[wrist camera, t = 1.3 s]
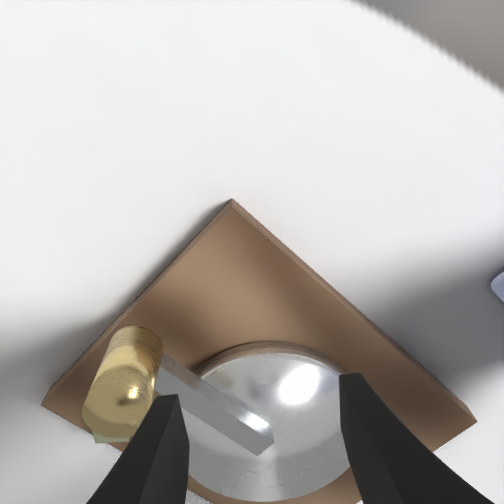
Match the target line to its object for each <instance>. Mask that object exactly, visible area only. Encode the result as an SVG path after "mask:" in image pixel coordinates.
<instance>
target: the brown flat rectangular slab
mask: <svg viewBox="0 0 504 504" xmlns="http://www.w3.org/2000/svg"><path fill="white" fill-rule="evenodd" d="M128 326H142V327H145V328H148V329H150V330H152V331H153V332H155V333H156V334H157V335H158V336H159V337H160V339H161V341H162V343H163V347H164V350H163V352H164V353H165V354H167V355H168V356H170V357H171V358H173V359H174V360H175V361H177V362H178V363H180V364H181V365H183V366H184V367H186V368H187V369H189V370H190V371H191V372H193V373H194V372H195V371H196V370H197V369H198V368H199V367H200V366H201V365H203V364H204V363H205V362H206V361H208V360H209V359H211V358H213V357H214V356H216V355H218V354H220V353H222V352H224V351H226V350H229V349H231V348H235V347H238V346H241V345H245V344H250V343H256V342H266V341H278V342H288V343H295V344H299V345H303V346H307V347H309V348H312V349H315V350H317V351H319V352H321V353H323V354H325V355H327V356H328V357H330V358H331V359H333V360H334V361H336V362H337V363H338V364H339V365H340V366H341V367H342V368H343V369H344V370H345V371H346V373H347V374H352V373H361V374H362V375H363V376H364V377H365V379H366V380H367V381H368V383H369V384H370V385H371V386H372V388H373V389H374V390H375V391H376V393H377V394H378V395H379V396H380V398H381V399H382V400H383V401H384V402H385V403H386V405H387V406H388V407H389V408H390V409H391V410H392V411H393V413H394V414H395V415H396V416H397V417H398V418H399V419H400V420H401V421H402V422H403V423H404V424H405V426H406V427H407V428H408V429H409V430H410V431H411V432H412V433H413V434H414V435H415V436H416V437H417V438H418V439H419V440H420V441H421V442H422V443H423V444H424V445H425V446H426V447H427V448H428V449H429V450H430V451H431V452H433V451H435V450H436V449H438V448H439V447H441V446H442V445H444V444H445V443H447V442H448V441H450V440H451V439H453V438H454V437H456V436H457V435H459V434H460V433H462V432H463V431H465V430H466V429H468V428H469V427H471V426H472V425H474V424H475V423H476V422H477V420H476V419H475V417H474V416H473V414H472V413H471V411H470V410H469V408H468V407H467V406H466V405H465V404H464V403H463V402H462V401H461V400H459V399H458V398H457V397H456V396H455V395H454V394H453V393H452V392H450V391H449V390H448V389H447V388H446V387H445V386H444V385H443V384H441V383H440V382H439V381H438V380H437V379H436V378H435V377H434V376H432V375H431V374H430V373H429V372H428V371H427V370H426V369H424V368H423V367H422V366H421V365H420V364H419V363H418V362H417V361H415V360H414V359H413V358H412V357H411V356H410V355H409V354H408V353H406V352H405V351H404V350H403V349H402V348H401V347H400V346H398V345H397V344H396V343H395V342H394V341H393V340H392V339H391V338H389V337H388V336H387V335H386V334H385V333H384V332H383V331H382V330H380V329H379V328H378V327H377V326H376V325H375V324H374V323H372V322H371V321H370V320H369V319H368V318H367V317H366V316H365V315H363V314H362V313H361V312H360V311H359V310H358V309H357V308H356V307H354V306H353V305H352V304H351V303H350V302H349V301H348V300H347V299H345V298H344V297H343V296H342V295H341V294H340V293H339V292H337V291H336V290H335V289H334V288H333V287H332V286H331V285H330V284H328V283H327V282H326V281H325V280H324V279H323V278H322V277H321V276H319V275H318V274H317V273H316V272H315V271H314V270H313V269H311V268H310V267H309V266H308V265H307V264H306V263H305V262H304V261H302V260H301V259H300V258H299V257H298V256H297V255H296V254H295V253H293V252H292V251H291V250H290V249H289V248H288V247H287V246H285V245H284V244H283V243H282V242H281V241H280V240H279V239H278V238H276V237H275V236H274V235H273V234H272V233H271V232H270V231H269V230H267V229H266V228H265V227H264V226H263V225H262V224H261V223H260V222H258V221H257V220H256V219H255V218H254V217H253V216H252V215H250V214H249V213H248V212H247V211H246V210H245V209H244V208H243V207H241V206H240V205H239V204H238V203H237V202H236V201H235V200H234V199H231V200H230V201H229V202H228V203H227V205H226V206H225V207H224V208H223V209H222V210H221V211H220V212H219V213H218V214H217V215H216V216H215V217H214V218H213V219H212V220H211V221H210V222H209V223H208V224H207V225H206V226H205V227H204V228H203V229H202V231H201V232H200V233H199V234H198V235H197V236H196V237H195V238H194V239H193V240H192V241H191V242H190V243H189V244H188V245H187V246H186V247H185V248H184V249H183V250H182V251H181V252H180V253H179V254H178V256H177V257H176V258H175V259H174V260H173V261H172V262H171V263H170V264H169V265H168V266H167V267H166V268H165V269H164V270H163V271H162V272H161V273H160V274H159V275H158V276H157V277H156V278H155V279H154V281H153V282H152V283H151V284H150V285H149V286H148V287H147V288H146V289H145V290H144V291H143V292H142V293H141V294H140V295H139V296H138V297H137V298H136V299H135V300H134V301H133V302H132V303H131V304H130V306H129V307H128V308H127V309H126V310H125V311H124V312H123V313H122V314H121V315H120V316H119V317H118V318H117V319H116V320H115V321H114V322H113V323H112V324H111V325H110V326H109V327H108V328H107V329H106V331H105V332H104V333H103V334H102V335H101V336H100V337H99V338H98V339H97V340H96V341H95V342H94V343H93V344H92V345H91V346H90V347H89V348H88V349H87V350H86V351H85V352H84V353H83V354H82V355H81V357H80V358H79V359H78V360H77V361H76V362H75V363H74V364H73V365H72V366H71V367H70V368H69V369H68V370H67V371H66V372H65V373H64V374H63V375H62V376H61V377H60V378H59V379H58V380H57V382H56V383H55V384H54V385H53V386H52V387H51V388H50V389H49V391H48V392H47V394H46V396H45V398H44V400H43V402H42V403H41V406H43V407H45V408H47V409H48V410H50V411H52V412H54V413H55V414H57V415H59V416H61V417H62V418H64V419H66V420H68V421H69V422H71V423H73V424H75V425H76V426H78V427H80V428H82V429H83V430H85V431H87V432H89V433H90V434H92V435H93V436H94V440H95V443H108V444H110V445H111V446H113V447H115V448H117V449H118V450H120V451H122V452H123V451H124V450H125V448H126V446H127V445H128V443H129V442H130V440H131V439H132V437H133V436H130V437H127V438H109V437H105V436H102V435H99V434H98V433H96V432H94V431H93V430H91V429H90V428H89V427H88V426H87V425H86V423H85V421H84V420H83V417H82V407H83V405H84V402H85V400H86V397H87V395H88V393H89V390H90V388H91V386H92V383H93V381H94V379H95V376H96V374H97V372H98V369H99V367H100V364H101V362H102V360H103V357H104V355H105V353H106V350H107V348H108V346H109V343H110V341H111V339H112V337H113V335H114V334H115V333H116V332H117V331H118V330H120V329H122V328H124V327H128ZM157 396H163V395H161V394H160V393H158V392H157V391H155V390H154V395H153V399H152V403H153V401H154V399H155V398H156V397H157ZM152 403H151V404H152ZM187 489H189V490H190V491H192V492H194V493H196V494H197V495H199V496H201V497H203V498H204V499H206V500H208V501H210V502H211V503H213V504H356V503H357V502H359V501H360V500H362V498H361V495H360V492H359V489H358V486H357V484H356V481H355V478H354V475H353V472H352V469H351V466H350V467H349V468H348V469H347V470H346V471H345V472H344V473H343V474H342V475H340V476H339V477H338V478H336V479H335V480H334V481H332V482H331V483H329V484H328V485H326V486H324V487H322V488H320V489H318V490H316V491H314V492H311V493H309V494H306V495H303V496H300V497H296V498H292V499H287V500H281V501H271V502H256V501H246V500H240V499H235V498H231V497H227V496H224V495H222V494H219V493H216V492H214V491H212V490H210V489H208V488H206V487H205V486H203V485H202V484H200V483H199V482H197V481H196V480H195V479H194V478H193V477H191V476H190V475H189V474H188V484H187Z"/></svg>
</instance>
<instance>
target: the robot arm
mask: <svg viewBox="0 0 504 504" xmlns="http://www.w3.org/2000/svg"><path fill="white" fill-rule="evenodd" d="M491 289H492V290H493V292H494V293H495V294H496V295H497V296H498V297H499V298H500V299H501V300H502V301H503V302H504V271H503V272H502V273H501V274H499V275H498V276H497V277H495V278H494V279H493V280H492V282H491ZM339 400H340V427H341V431H342V435H343V440H344V444H345V448H346V452H347V456H348V460H349V464H350V466H351V469H352V472H353V475H354V478H355V481H356V484H357V486H358V489H359V492H360V495H361V498H362V501H363V503H364V504H494V503H493V502H491V501H490V500H489V499H487V498H486V497H485V496H483V495H482V494H481V493H479V492H478V491H477V490H476V489H474V488H473V487H472V486H471V485H469V484H468V483H467V482H466V481H464V480H463V479H462V478H461V477H460V476H458V475H457V474H456V473H455V472H454V471H453V470H451V469H450V468H449V467H448V466H447V465H446V464H445V463H443V462H442V461H441V460H440V459H439V458H438V457H437V456H436V455H435V454H434V453H432V452H431V451H430V450H429V449H428V448H427V447H426V446H425V445H424V444H423V443H422V442H421V441H420V440H419V439H418V438H417V437H416V436H415V435H414V434H413V433H412V432H411V431H410V430H409V429H408V428H407V427H406V426H405V424H404V423H403V422H402V421H401V420H400V419H399V418H398V417H397V416H396V415H395V414H394V413H393V411H392V410H391V409H390V408H389V407H388V406H387V405H386V403H385V402H384V401H383V400H382V399H381V398H380V396H379V395H378V394H377V393H376V391H375V390H374V389H373V388H372V386H371V385H370V384H369V383H368V381H367V380H366V379H365V377H364V376H363V375H362V374H361V373H352V374H343V375H339ZM189 450H190V443H189V439H188V435H187V430H186V426H185V422H184V418H183V414H182V410H181V406H180V401H179V397H178V394H171V395H163V396H157V397H156V398H155V399H154V401H153V403H152V404H151V406H150V408H149V410H148V411H147V413H146V415H145V417H144V419H143V420H142V422H141V424H140V425H139V427H138V429H137V430H136V432H135V434H134V435H133V437H132V439H131V440H130V442H129V443H128V445H127V446H126V448H125V450H124V451H123V453H122V454H121V456H120V457H119V459H118V460H117V462H116V463H115V465H114V466H113V468H112V469H111V471H110V472H109V473H108V475H107V476H106V478H105V479H104V480H103V482H102V483H101V485H100V486H99V488H98V489H97V490H96V492H95V493H94V494H93V496H92V497H91V498H90V499H89V501H88V502H87V503H86V504H185V498H186V491H187V484H188V474H189Z"/></svg>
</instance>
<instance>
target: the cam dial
mask: <svg viewBox="0 0 504 504" xmlns="http://www.w3.org/2000/svg"><path fill="white" fill-rule="evenodd" d="M163 350H164V347H163V343H162V341H161V339H160V337H159V336H158V335H157V334H156V333H155V332H153V331H152V330H150V329H148V328H145V327H142V326H128V327H124V328H122V329H120V330H118V331H117V332H116V333H115V334H114V335H113V337H112V339H111V341H110V343H109V346H108V348H107V350H106V353H105V355H104V357H103V360H102V362H101V364H100V367H99V369H98V372H97V374H96V376H95V379H94V381H93V383H92V386H91V388H90V390H89V393H88V395H87V397H86V400H85V402H84V405H83V407H82V417H83V420H84V421H85V423H86V425H87V426H88V427H89V428H90V429H91V430H93V431H94V432H96V433H98V434H99V435H102V436H105V437H109V438H127V437H130V436H133V435H134V434H135V432H136V430H137V429H138V427H139V425H140V424H141V422H142V420H143V419H144V417H145V415H146V413H147V411H148V410H149V408H150V406H151V403H152V399H153V395H154V390H155V391H157V392H158V393H160V394H161V395H171V394H178V397H179V401H180V406H181V410H182V414H183V418H184V422H185V426H186V430H187V435H188V439H189V443H190V450H189V475H190V476H191V477H193V478H194V479H195V480H196V481H197V482H199V483H200V484H202V485H203V486H205V487H206V488H208V489H210V490H212V491H214V492H216V493H219V494H222V495H224V496H227V497H231V498H235V499H240V500H246V501H256V502H271V501H281V500H287V499H292V498H296V497H300V496H303V495H306V494H309V493H311V492H314V491H316V490H318V489H320V488H322V487H324V486H326V485H328V484H329V483H331V482H332V481H334V480H335V479H336V478H338V477H339V476H340V475H342V474H343V473H344V472H345V471H346V470H347V469H348V468H349V467H350V464H349V460H348V456H347V452H346V448H345V444H344V440H343V435H342V431H341V427H340V400H339V375H343V374H347V373H346V371H345V370H344V369H343V368H342V367H341V366H340V365H339V364H338V363H337V362H336V361H334V360H333V359H331V358H330V357H328V356H327V355H325V354H323V353H321V352H319V351H317V350H315V349H312V348H309V347H307V346H303V345H299V344H295V343H288V342H278V341H266V342H256V343H250V344H245V345H241V346H238V347H235V348H231V349H229V350H226V351H224V352H222V353H220V354H218V355H216V356H214V357H213V358H211V359H209V360H208V361H206V362H205V363H204V364H203V365H201V366H200V367H199V368H198V369H197V370H196V371H195V372H194V373H193V372H191V371H190V370H189V369H187V368H186V367H184V366H183V365H181V364H180V363H178V362H177V361H175V360H174V359H173V358H171V357H170V356H168V355H167V354H165V353H164V352H163Z"/></svg>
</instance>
